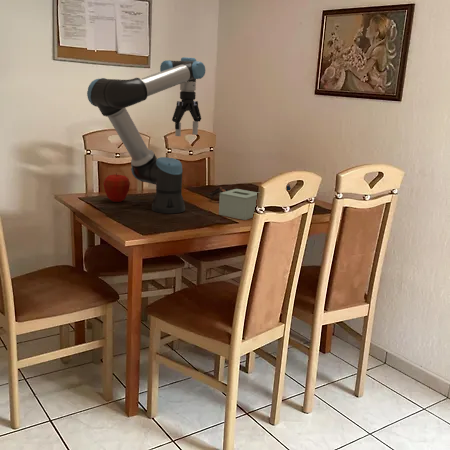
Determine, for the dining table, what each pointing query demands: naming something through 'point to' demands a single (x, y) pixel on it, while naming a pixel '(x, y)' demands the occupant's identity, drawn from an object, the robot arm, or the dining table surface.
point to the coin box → (237, 204)
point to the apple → (116, 187)
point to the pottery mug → (217, 192)
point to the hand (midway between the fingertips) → (186, 135)
